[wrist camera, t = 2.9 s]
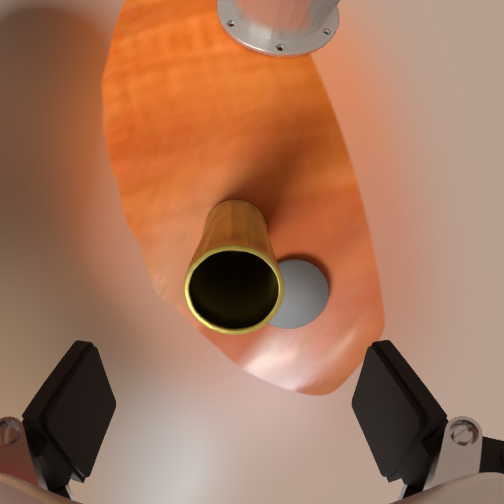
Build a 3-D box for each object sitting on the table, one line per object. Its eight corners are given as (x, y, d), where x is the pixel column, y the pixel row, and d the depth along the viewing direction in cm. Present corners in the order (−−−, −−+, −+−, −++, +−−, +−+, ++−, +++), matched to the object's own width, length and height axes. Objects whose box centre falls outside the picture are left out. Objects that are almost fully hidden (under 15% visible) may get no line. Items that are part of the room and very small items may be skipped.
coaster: (255, 258, 29) (255, 261, 28) (330, 258, 29) (332, 261, 29) (253, 325, 31) (254, 329, 31) (322, 323, 32) (323, 327, 31)
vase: (198, 205, 27) (161, 247, 14) (261, 194, 27) (285, 225, 13) (211, 263, 29) (192, 348, 15) (270, 253, 29) (298, 331, 15)
